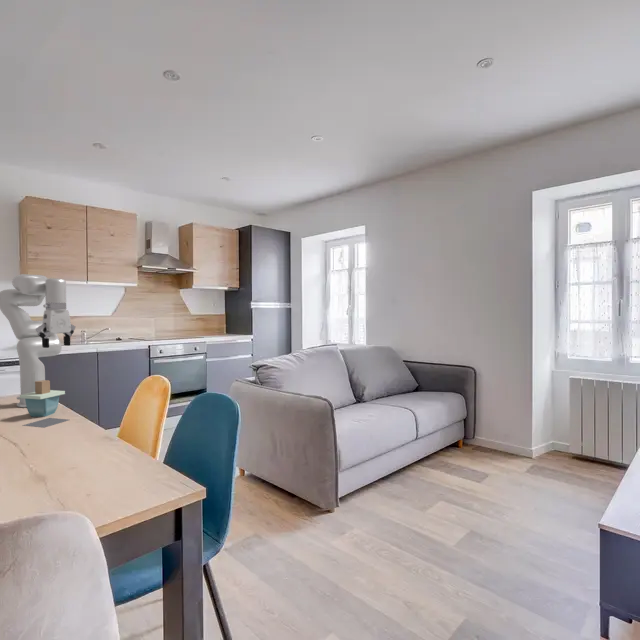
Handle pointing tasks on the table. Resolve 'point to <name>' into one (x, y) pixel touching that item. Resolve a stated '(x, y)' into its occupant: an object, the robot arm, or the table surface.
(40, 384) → the lid
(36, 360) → the robot arm
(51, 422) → the mat
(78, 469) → the table surface
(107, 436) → the table surface
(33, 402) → the flower pot
